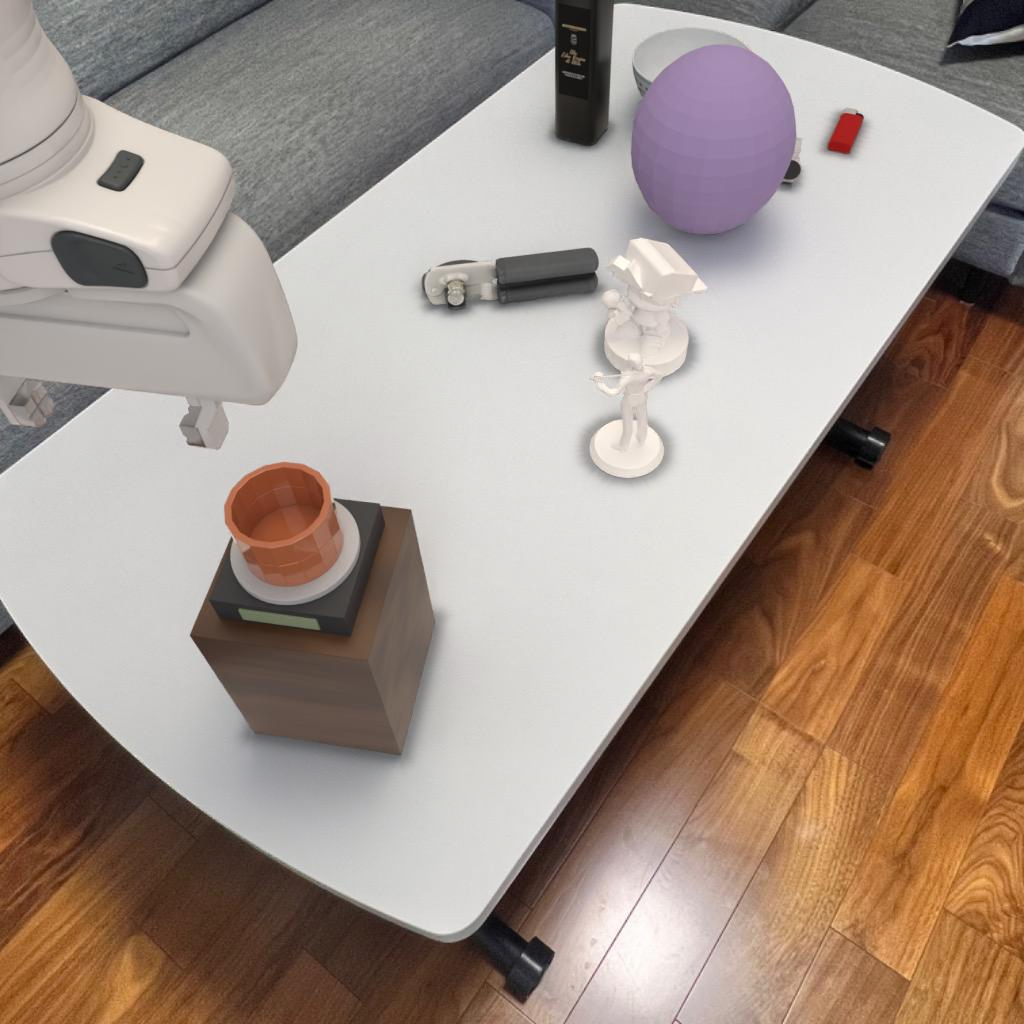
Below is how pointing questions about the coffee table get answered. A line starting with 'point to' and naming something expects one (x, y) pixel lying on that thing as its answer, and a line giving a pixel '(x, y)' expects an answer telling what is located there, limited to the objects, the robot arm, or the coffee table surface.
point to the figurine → (628, 425)
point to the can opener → (513, 277)
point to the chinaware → (672, 50)
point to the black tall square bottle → (582, 68)
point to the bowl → (285, 523)
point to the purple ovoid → (713, 139)
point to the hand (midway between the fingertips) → (121, 427)
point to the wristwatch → (794, 164)
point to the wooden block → (334, 657)
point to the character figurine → (648, 306)
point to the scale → (316, 602)
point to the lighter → (846, 131)
